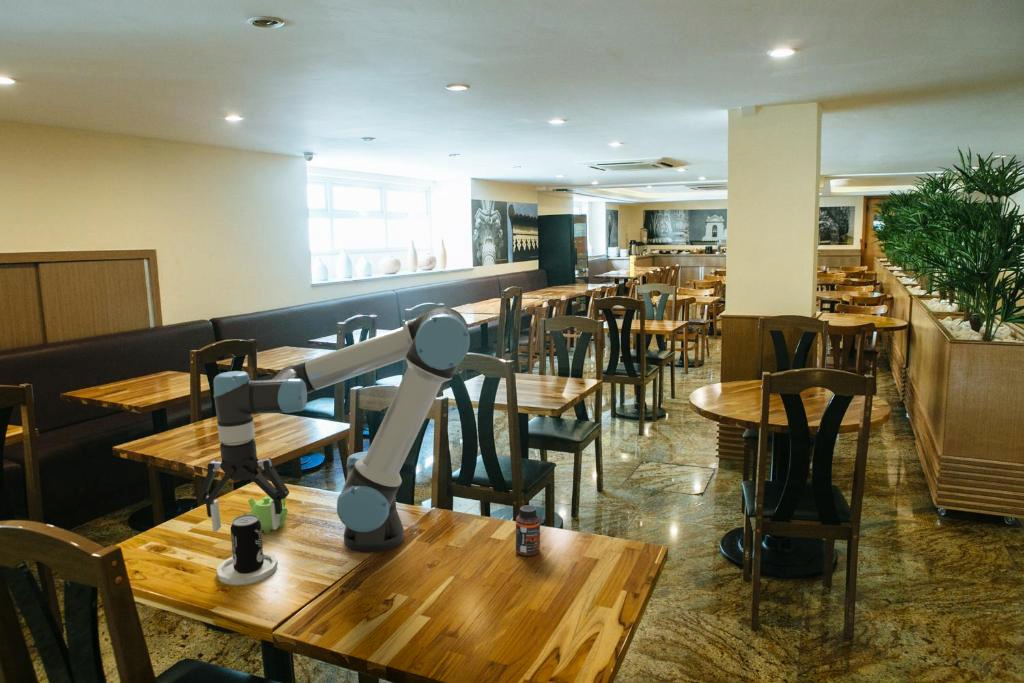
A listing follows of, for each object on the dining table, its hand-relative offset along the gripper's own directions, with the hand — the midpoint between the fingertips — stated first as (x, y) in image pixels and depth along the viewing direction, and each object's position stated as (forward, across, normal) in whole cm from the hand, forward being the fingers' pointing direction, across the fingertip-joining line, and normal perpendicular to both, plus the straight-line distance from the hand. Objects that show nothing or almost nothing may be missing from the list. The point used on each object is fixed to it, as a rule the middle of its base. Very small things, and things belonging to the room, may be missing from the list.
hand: (246, 528), depth 160 cm
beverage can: (+10, 0, 0) cm, 10 cm away
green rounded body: (+11, +4, -23) cm, 26 cm away
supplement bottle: (+13, -65, -7) cm, 67 cm away
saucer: (+11, +1, 0) cm, 11 cm away
